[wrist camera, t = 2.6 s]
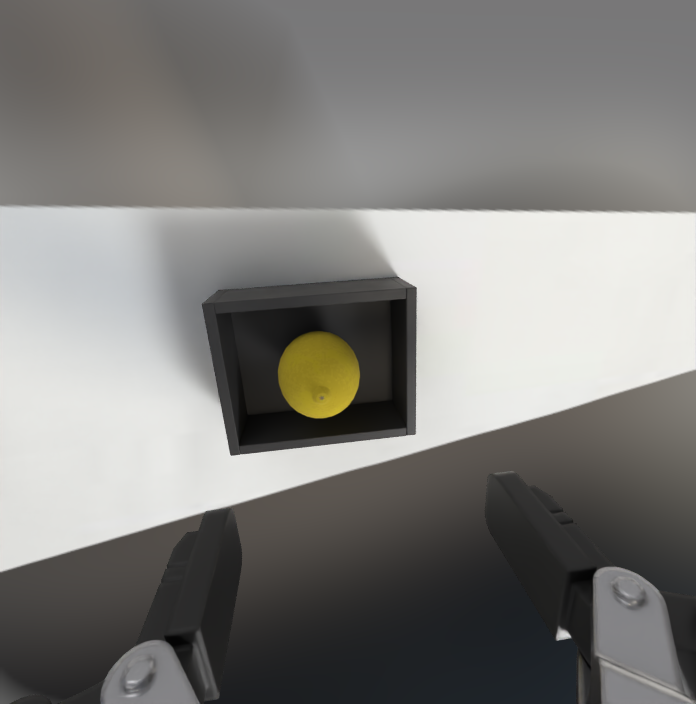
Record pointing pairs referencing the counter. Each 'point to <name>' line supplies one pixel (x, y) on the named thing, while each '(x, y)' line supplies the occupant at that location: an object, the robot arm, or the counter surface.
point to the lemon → (318, 374)
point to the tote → (297, 319)
